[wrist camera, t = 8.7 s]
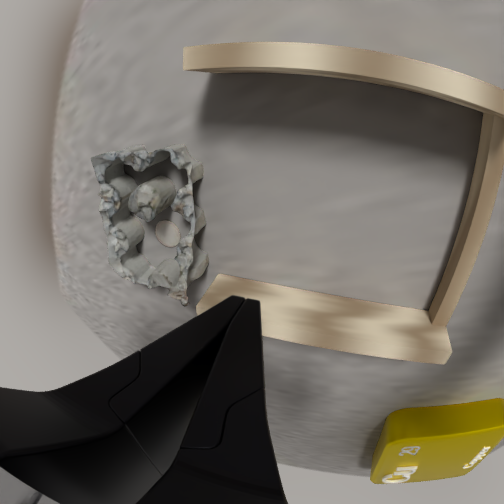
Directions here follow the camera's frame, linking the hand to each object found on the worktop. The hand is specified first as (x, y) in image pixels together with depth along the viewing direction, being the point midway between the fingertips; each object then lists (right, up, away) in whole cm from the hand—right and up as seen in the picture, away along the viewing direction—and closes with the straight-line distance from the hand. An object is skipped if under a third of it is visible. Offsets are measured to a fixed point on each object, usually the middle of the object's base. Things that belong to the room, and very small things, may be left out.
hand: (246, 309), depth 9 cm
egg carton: (-6, +5, +13) cm, 15 cm away
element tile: (+22, -20, +18) cm, 35 cm away
